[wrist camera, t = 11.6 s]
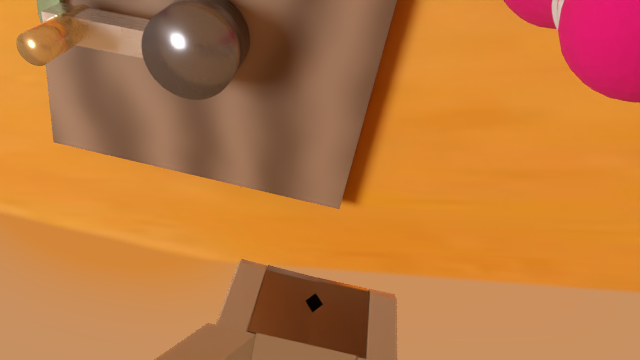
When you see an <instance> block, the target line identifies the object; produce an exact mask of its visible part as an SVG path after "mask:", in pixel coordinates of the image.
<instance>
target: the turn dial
mask: <svg viewBox="0 0 640 360" xmlns="http://www.w3.org/2000/svg"><path fill="white" fill-rule="evenodd" d="M41 14H42V20H43V23H41V24H39V25H37V26H35V27H33V28H31V29H29V30H27V31H25V32H24V33H22V34H20V35H19V36H18V38H17V49H18V51H19V53H20V55H21V56H22V57H23V58H24V59H25V60H26V61H27V62H29V63H31V64H33V65H37V66H42V65H45V64H47V63H48V62H50V61H51V60H53V59H55V58H56V57H58V56H59V55H61V54H62V53H64V52H65V51H67V50H69V49H70V48H72V47H73V46H75V45H76V46H82V47H87V48H92V49H97V50H102V51H107V52H113V53H118V54H123V55H128V56H133V57H138V58H143V59H144V62H145V64H146V66H147V68H148V70H149V72H150V73H151V75H152V76H153V78H154V79H155V80H156V81H157V82H158V83H159V84H160V85H161V86H162V87H163V88H165V89H166V90H168V91H169V92H171V93H173V94H175V95H177V96H179V97H182V98H186V99H192V100H202V99H207V98H211V97H213V96H215V95H217V94H219V93H220V92H222V91H223V90H224V89H225V88H226V87H227V86H228V84H229V83H230V81H231V80H232V78H233V77H234V75H235V74H236V72H237V71H238V69H239V68H240V66H241V65H242V63H243V62H244V60H245V59H246V57H247V54H248V51H249V46H250V35H249V30H248V26H247V23H246V21H245V19H244V17H243V15H242V14H241V12H240V11H239V10H238V9H237V7H236V6H235V5H234V4H232V3H231V2H230V1H229V0H175V1H174V2H172V3H171V4H170V5H168V6H167V7H165V8H164V9H163V10H161V11H160V12H159V13H157V14H156V15H155V16H154V17H153V18H152V19H150V20H149V19H143V18H138V17H133V16H128V15H123V14H117V13H112V12H107V11H102V10H97V9H92V8H91V7H89V6H87V5H84V4H78V5H71V4H65V3H58V4H56V5H54V6H52V7H50V8H48V9H46V10H43V11H41Z"/></svg>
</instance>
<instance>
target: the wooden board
mask: <svg viewBox="0 0 640 360" xmlns="http://www.w3.org/2000/svg"><path fill="white" fill-rule="evenodd" d="M174 1H175V0H37V7H38V12H39V13H38V14H39V18H40V21H41V23H43V20H42V14H41V11H43V10H46V9H48V8H50V7H52V6H54V5H56V4H58V3H65V4H71V5H78V4H84V5H87V6H89V7H91V8H92V9H97V10H102V11H107V12H112V13H117V14H123V15H128V16H133V17H138V18H143V19H149V20H150V19H152V18H153V17H154V16H155V15H156V14H157V13H159V12H160V11H161V10H163V9H164V8H165V7H167V6H168V5H170V4H171V3H172V2H174ZM229 1H230V2H231V3H232V4H234V5H235V6H236V7H237V9H238V10H239V11H240V12H241V14H242V15H243V17H244V19H245V21H246V23H247V26H248V30H249V35H250V46H249V51H248V54H247V57H246V59H245V60H244V62H243V63H242V65H241V66H240V68H239V69H238V71H237V72H236V74H235V75H234V77H233V78H232V80H231V81H230V83H229V84H228V86H227V87H226V88H225V89H224V90H223V91H222V92H220V93H219V94H217V95H215V96H213V97H211V98H207V99H202V100H192V99H186V98H182V97H179V96H177V95H175V94H173V93H171V92H169V91H168V90H166V89H165V88H163V87H162V86H161V85H160V84H159V83H158V82H157V81H156V80H155V79H154V78H153V76H152V75H151V73H150V72H149V70H148V68H147V66H146V64H145V62H144V59H143V58H138V57H133V56H128V55H123V54H118V53H113V52H107V51H102V50H97V49H92V48H87V47H82V46H76V45H75V46H73V47H72V48H70V49H69V50H67V51H65V52H64V53H62V54H61V55H59V56H58V57H56V58H55V59H53V60H51V61H50V62H48V63H47V64H46V72H47V81H48V91H49V101H50V111H51V121H52V130H53V140H54V142H55V143H59V144H64V145H68V146H72V147H76V148H81V149H85V150H89V151H93V152H98V153H102V154H106V155H111V156H115V157H119V158H123V159H128V160H132V161H136V162H140V163H145V164H149V165H153V166H157V167H162V168H166V169H170V170H175V171H179V172H183V173H187V174H192V175H196V176H200V177H204V178H209V179H213V180H217V181H222V182H226V183H230V184H234V185H239V186H243V187H247V188H251V189H256V190H260V191H264V192H269V193H273V194H277V195H281V196H286V197H290V198H294V199H298V200H303V201H307V202H311V203H316V204H320V205H324V206H328V207H333V208H337V209H340V205H341V201H342V198H343V194H344V190H345V187H346V183H347V180H348V176H349V172H350V169H351V165H352V162H353V158H354V154H355V151H356V147H357V143H358V140H359V136H360V133H361V129H362V125H363V122H364V118H365V115H366V111H367V107H368V104H369V100H370V96H371V93H372V89H373V86H374V82H375V78H376V75H377V71H378V68H379V64H380V60H381V57H382V53H383V50H384V46H385V42H386V39H387V35H388V31H389V28H390V24H391V21H392V17H393V13H394V10H395V6H396V3H397V0H229Z"/></svg>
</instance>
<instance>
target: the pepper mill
mask: <svg viewBox="0 0 640 360" xmlns="http://www.w3.org/2000/svg"><path fill="white" fill-rule="evenodd" d="M504 2H505V3H506V4H507V6H508V7H509V8H510V9H511V10H512V11H513V12H514V13H516V14H517V15H518V16H519V17H520V18H522V19H523V20H525V21H527V22H528V23H531V24H534V25H536V26H539V27H545V28H552V29H557V30H558V33H559V39H560V45H561V51H562V54H563V56H564V58H565V60H566V62H567V64H568V65H569V67H570V69H571V70H572V71H573V72H574V73H575V74H576V76H577V77H578V78H579V79H580V80H581V81H582V82H583V83H584V84H585V85H587V86H588V87H590V88H591V89H593V90H594V91H596V92H599V93H601V94H603V95H605V96H607V97H609V98H614V99H618V100H623V101H629V102H640V0H504Z"/></svg>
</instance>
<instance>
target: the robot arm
mask: <svg viewBox="0 0 640 360" xmlns="http://www.w3.org/2000/svg"><path fill="white" fill-rule="evenodd" d="M396 305H397V299H396V297H395V295H394V294H391V293H386V292H381V291H376V290H372V289H369V290H368V289H366V288H362V287H358V286H353V285H348V284H344V283H340V282H335V281H330V280H326V279H321V278H316V277H312V276H308V275H304V274H300V273H296V272H292V271H289V270H285V269H281V268H277V267H273V266H269V265H268V266H266V265H263V264H259V263H255V262H251V261H247V260H244V259H241V261H240V262H239V264H238V266H237V268H236V271H235V274H234V277H233V279H232V282H231V285H230V287H229V290H228V293H227V296H226V298H225V301H224V304H223V306H222V309H221V312H220V314H219V317H218V320H217V323H216V325H215V324H210V323H208V324H206V325H205V326H203V327H201V328H200V329H198V330H197V331H195V332H194V333H193V334H191V335H190V336H188V337H187V338H185V339H184V340H182V341H181V342H180V343H178V344H177V345H175V346H174V347H172V348H171V349H169V350H168V351H166V352H165V353H163V354H162V355H160V356H159V357H157V358H156V359H154V360H397V306H396Z"/></svg>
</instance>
